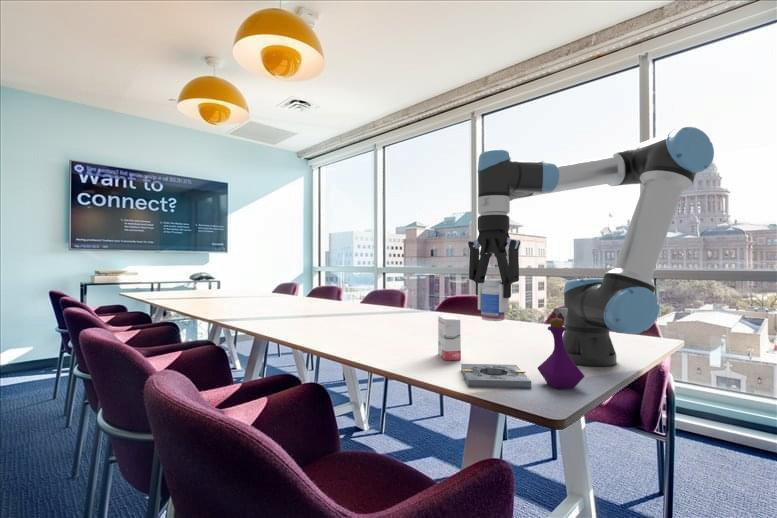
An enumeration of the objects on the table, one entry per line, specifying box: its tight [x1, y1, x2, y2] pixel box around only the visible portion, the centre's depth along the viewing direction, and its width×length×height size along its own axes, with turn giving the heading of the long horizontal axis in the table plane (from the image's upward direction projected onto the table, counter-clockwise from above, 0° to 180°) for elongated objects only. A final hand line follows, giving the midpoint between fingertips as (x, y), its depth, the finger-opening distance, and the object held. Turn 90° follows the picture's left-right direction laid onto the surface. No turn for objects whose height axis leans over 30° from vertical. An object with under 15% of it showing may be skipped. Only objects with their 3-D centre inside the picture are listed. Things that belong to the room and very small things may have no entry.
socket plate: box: [461, 363, 532, 389], centre depth 99 cm, size 15×14×2 cm
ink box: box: [437, 315, 462, 361], centre depth 120 cm, size 9×5×12 cm, turn 7°
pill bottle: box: [480, 279, 505, 322], centre depth 99 cm, size 6×5×10 cm
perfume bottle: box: [537, 307, 585, 390], centre depth 93 cm, size 8×8×18 cm
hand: (492, 310), depth 99 cm, fingers closed on pill bottle, 5 cm apart
